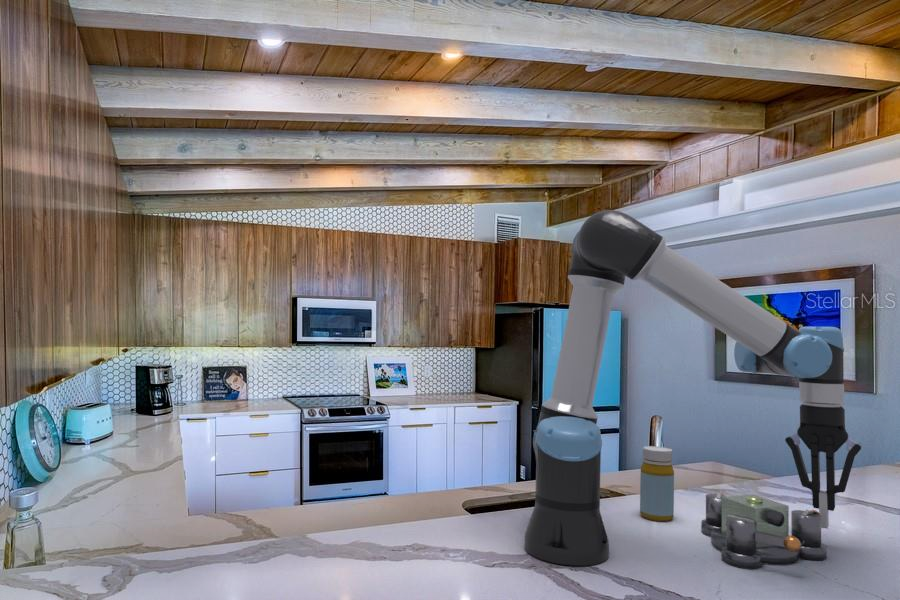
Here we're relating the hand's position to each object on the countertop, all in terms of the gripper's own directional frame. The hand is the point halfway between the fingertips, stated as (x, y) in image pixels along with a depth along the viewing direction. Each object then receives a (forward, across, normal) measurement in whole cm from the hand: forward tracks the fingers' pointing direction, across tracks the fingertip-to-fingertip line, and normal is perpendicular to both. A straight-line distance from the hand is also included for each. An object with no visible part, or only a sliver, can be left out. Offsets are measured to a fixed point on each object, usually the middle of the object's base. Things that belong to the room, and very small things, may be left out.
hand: (824, 526), depth 115 cm
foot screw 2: (+1, +8, +21) cm, 22 cm away
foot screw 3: (+2, +2, +4) cm, 5 cm away
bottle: (+4, +31, +4) cm, 32 cm away
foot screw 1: (+1, +19, +3) cm, 19 cm away
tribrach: (+4, +12, +10) cm, 16 cm away
